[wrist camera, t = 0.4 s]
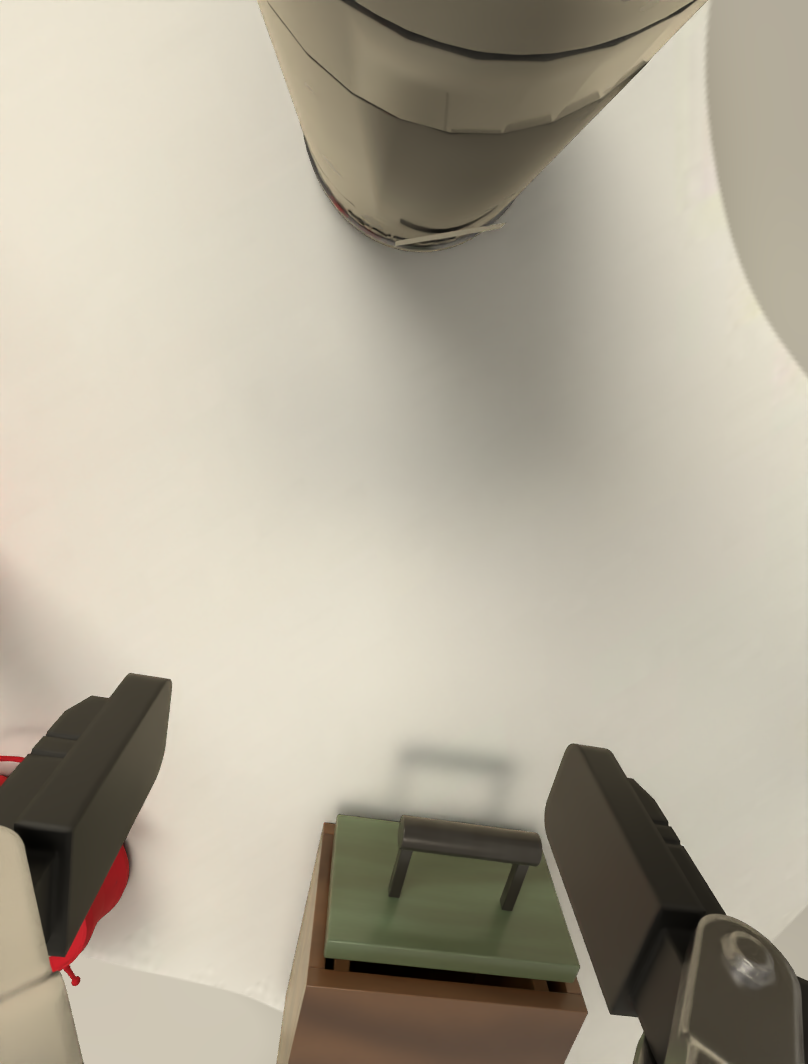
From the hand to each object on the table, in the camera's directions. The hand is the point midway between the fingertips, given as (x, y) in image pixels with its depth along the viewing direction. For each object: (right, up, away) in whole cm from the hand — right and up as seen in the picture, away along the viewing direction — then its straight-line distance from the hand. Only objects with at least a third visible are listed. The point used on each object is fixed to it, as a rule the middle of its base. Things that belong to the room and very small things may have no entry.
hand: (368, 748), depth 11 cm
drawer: (+2, -18, +24) cm, 30 cm away
